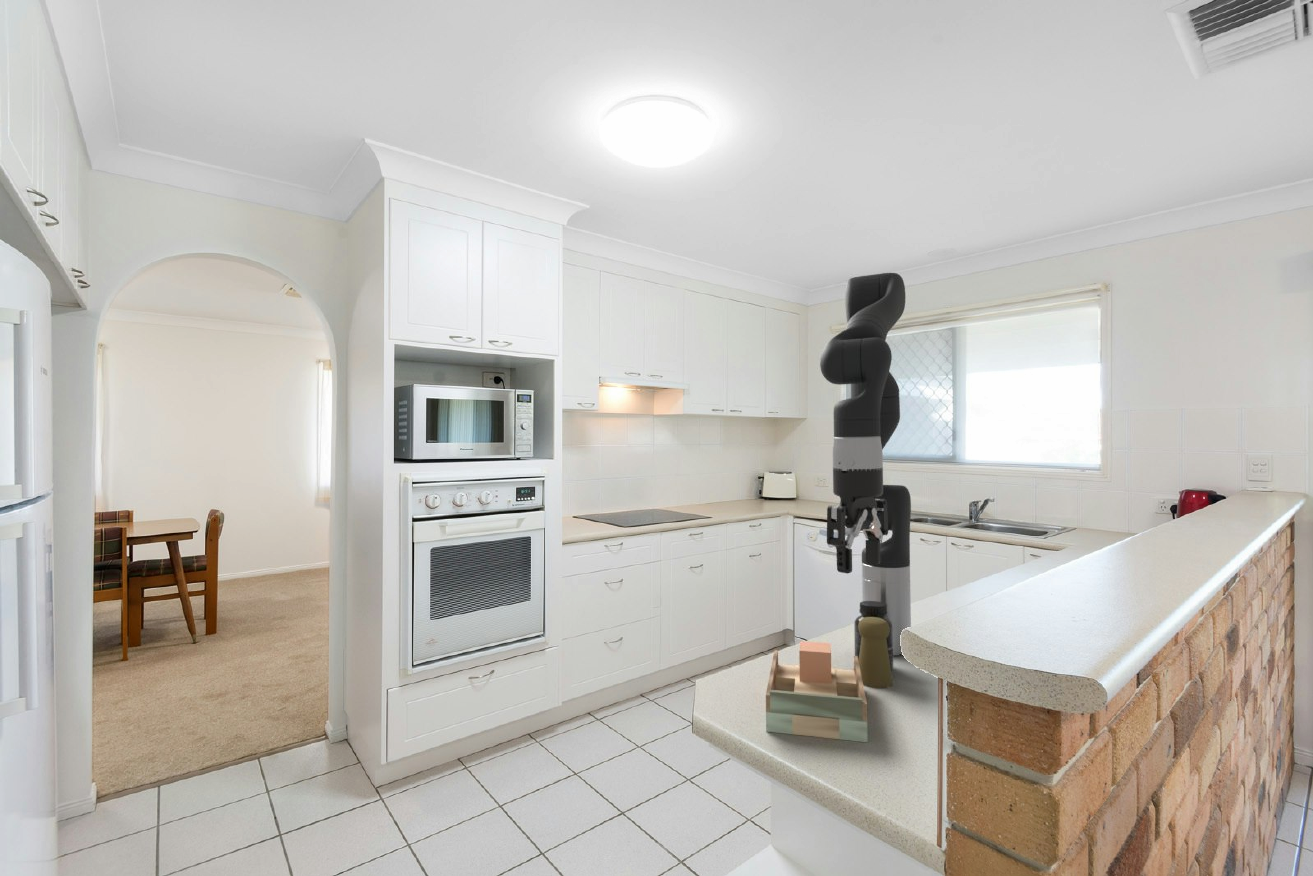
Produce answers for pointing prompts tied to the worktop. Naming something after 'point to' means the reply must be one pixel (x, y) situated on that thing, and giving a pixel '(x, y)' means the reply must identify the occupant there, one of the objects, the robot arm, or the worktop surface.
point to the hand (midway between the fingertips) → (859, 567)
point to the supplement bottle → (880, 612)
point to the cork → (874, 653)
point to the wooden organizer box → (816, 703)
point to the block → (815, 662)
